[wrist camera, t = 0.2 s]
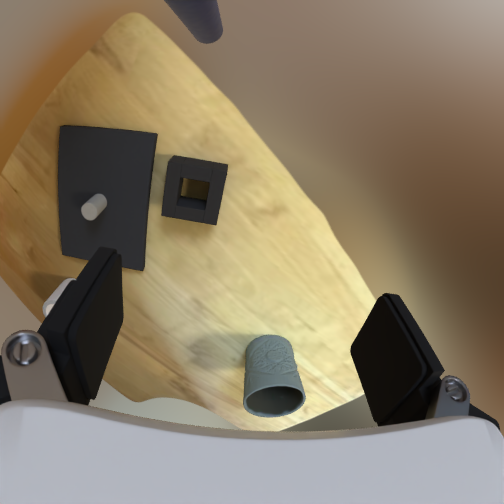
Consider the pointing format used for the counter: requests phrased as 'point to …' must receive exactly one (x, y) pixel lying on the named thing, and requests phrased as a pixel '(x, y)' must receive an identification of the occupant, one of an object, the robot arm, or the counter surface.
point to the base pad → (105, 191)
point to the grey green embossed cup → (271, 378)
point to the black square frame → (189, 206)
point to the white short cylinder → (55, 296)
